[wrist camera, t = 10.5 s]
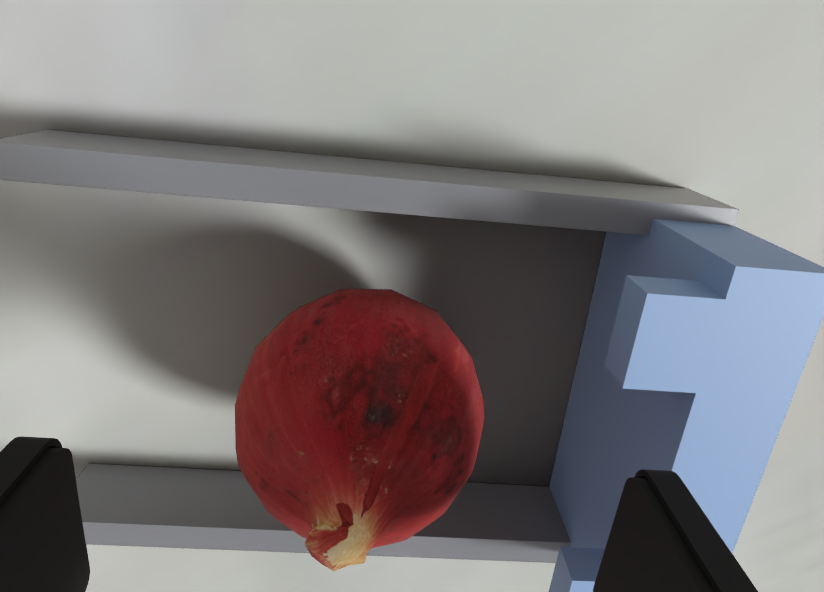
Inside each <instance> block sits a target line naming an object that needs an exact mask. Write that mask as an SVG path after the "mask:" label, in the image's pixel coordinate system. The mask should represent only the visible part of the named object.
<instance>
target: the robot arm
mask: <svg viewBox="0 0 824 592" xmlns="http://www.w3.org/2000/svg"><path fill="white" fill-rule="evenodd" d="M89 575H90V567H89V560H88V554H87V548H86V541H85V535H84V529H83V522H82V516H81V510H80V503H79V497H78V491H77V484H76V478H75V472H74V465H73V459H72V454H71V451H70V450H69V449H67V448H62V446H61V443H60V442H59V440H58V439H54V438H36V437H17V438H14V439H13V440H12V441H11V442H10V443H9V444H8V445H7V446H6V447H5V448H4V449H3V450H2V451H1V452H0V592H85V590H86V588H87V585H88V581H89ZM593 592H758V591H757V590H756V588H755V587H754V585H753V584H752V582H751V581H750V579H749V578H748V576H747V575H746V573H745V572H744V571H743V569H742V568H741V566H740V565H739V563H738V562H737V560H736V559H735V557H734V556H733V554H732V553H731V551H730V550H729V549H728V547H727V546H726V544H725V543H724V541H723V540H722V538H721V537H720V535H719V534H718V532H717V531H716V530H715V528H714V527H713V525H712V524H711V522H710V521H709V519H708V518H707V516H706V515H705V513H704V512H703V510H702V509H701V508H700V506H699V505H698V503H697V502H696V500H695V499H694V497H693V496H692V494H691V493H690V491H689V490H688V488H687V487H686V486H685V484H684V483H683V481H682V480H681V478H680V477H679V476H678V475H677V473H675V472H673V471H665V470H646V469H642V470H639V471H638V472H637V473H636V474H635V477H630V478H628V479H627V480H626V482H625V485H624V488H623V491H622V495H621V498H620V501H619V505H618V508H617V511H616V515H615V518H614V521H613V524H612V528H611V531H610V534H609V538H608V541H607V544H606V547H605V551H604V554H603V557H602V561H601V564H600V567H599V571H598V574H597V577H596V580H595V584H594V588H593Z"/></svg>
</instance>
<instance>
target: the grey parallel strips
mask: <svg viewBox="0 0 824 592" xmlns="http://www.w3.org/2000/svg"><path fill="white" fill-rule="evenodd" d="M0 180H9V181H20V182H32V183H44V184H55V185H67V186H79V187H91V188H102V189H114V190H126V191H137V192H149V193H161V194H173V195H184V196H196V197H208V198H220V199H231V200H243V201H255V202H266V203H278V204H290V205H302V206H313V207H325V208H337V209H349V210H360V211H372V212H384V213H395V214H407V215H419V216H431V217H442V218H454V219H466V220H477V221H489V222H501V223H513V224H524V225H536V226H548V227H560V228H571V229H583V230H595V231H606V232H618V233H630V234H642V235H649V234H650V230H651V226H652V222H653V219H661V220H672V221H684V222H695V223H707V224H718V225H729V226H734V223H735V220H736V217H737V214H738V210H739V209H736V208H734V207H731V206H729V205H727V204H724V203H722V202H719V201H717V200H714V199H712V198H709V197H707V196H705V195H702V194H700V193H697V192H695V191H692V190H690V189H686V188H675V187H665V186H654V185H643V184H632V183H621V182H610V181H599V180H589V179H578V178H567V177H556V176H545V175H534V174H524V173H513V172H502V171H491V170H480V169H469V168H458V167H448V166H437V165H426V164H415V163H404V162H393V161H382V160H372V159H361V158H350V157H339V156H328V155H317V154H306V153H296V152H285V151H274V150H263V149H252V148H241V147H231V146H220V145H209V144H198V143H187V142H176V141H165V140H155V139H144V138H133V137H122V136H111V135H100V134H89V133H79V132H68V131H57V130H41V131H36V132H31V133H26V134H21V135H16V136H10V137H5V138H0ZM76 484H77V491H78V497H79V503H80V510H81V516H82V522H83V529H84V535H85V541H86V544H93V545H118V546H143V547H168V548H193V549H218V550H244V551H269V552H294V553H310V552H309V551H308V549H307V547H306V546H305V541H306V538H303V537H301V536H300V535H298V534H297V533H295V532H294V531H292V530H291V529H289V528H288V527H287V526H285V525H284V524H282V523H281V522H279V521H278V520H277V519H275V518H274V517H273V516H272V515H271V514H270V513H269V512H268V511H267V510H266V509H265V507H264V506H263V504H262V503H261V501H260V500H259V498H258V497H257V495H256V494H255V492H254V491H253V489H252V488H251V486H250V485H249V483H248V482H247V480H246V479H245V477H244V475H243V473H242V471H228V470H208V469H188V468H168V467H148V466H128V465H108V464H88V465H87V466H86V467H85V469H84V470H83V471H82V473H81V474H80V475H79V477H78V478H77V479H76ZM570 546H571V541H570V538H569V536H568V533H567V531H566V528H565V526H564V523H563V520H562V518H561V515H560V513H559V510H558V508H557V505H556V503H555V500H554V498H553V495H552V492H551V490H550V487H547V486H527V485H507V484H487V483H467V482H466V483H465V484H464V486H463V487H462V489H461V490H460V492H459V493H458V495H457V496H456V497H455V499H454V500H453V502H452V503H451V505H450V506H449V508H448V509H447V510H446V512H445V513H444V514H443V515H442V516H440V517H439V518H438V519H436V520H435V521H434V522H432V523H431V524H429V525H428V526H426V527H425V528H423V529H422V530H420V531H419V532H417V533H416V534H414V535H413V536H411V537H410V538H408V539H407V540H404V541H401V542H398V543H393V544H389V545H384V546H380V547H375V548H371V549H370V550H369V551H368V553H367V555H369V556H394V557H419V558H444V559H470V560H495V561H520V562H545V563H556V561H557V557H558V553H559V549H560V547H570Z"/></svg>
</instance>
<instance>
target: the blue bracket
mask: <svg viewBox="0 0 824 592" xmlns="http://www.w3.org/2000/svg"><path fill="white" fill-rule="evenodd" d="M823 317H824V267H822V266H820V265H817V264H815V263H813V262H811V261H809V260H807V259H804V258H802V257H800V256H798V255H796V254H794V253H791V252H789V251H787V250H785V249H783V248H781V247H778V246H776V245H774V244H772V243H770V242H768V241H765V240H763V239H761V238H759V237H757V236H755V235H752V234H750V233H748V232H746V231H744V230H742V229H739V228H737V227H735V226H729V225H718V224H707V223H695V222H684V221H672V220H661V219H653V222H652V226H651V230H650V234H649V235H642V234H630V233H618V232H606V237H605V241H604V246H603V250H602V255H601V259H600V263H599V268H598V272H597V277H596V281H595V286H594V290H593V294H592V299H591V303H590V308H589V312H588V317H587V321H586V326H585V330H584V334H583V339H582V343H581V348H580V352H579V357H578V361H577V366H576V370H575V374H574V379H573V383H572V388H571V392H570V397H569V401H568V405H567V410H566V414H565V419H564V423H563V428H562V432H561V437H560V441H559V445H558V450H557V454H556V459H555V463H554V468H553V472H552V477H551V481H550V485H549V487H550V490H551V492H552V495H553V498H554V500H555V503H556V505H557V508H558V510H559V513H560V515H561V518H562V520H563V523H564V526H565V528H566V531H567V533H568V536H569V538H570V541H571V546H570V547H560V549H559V553H558V557H557V561H556V565H555V569H554V573H553V577H552V581H551V585H550V589H549V592H593V588H594V584H595V580H596V577H597V574H598V571H599V567H600V564H601V561H602V557H603V554H604V551H605V547H606V544H607V541H608V538H609V534H610V531H611V528H612V524H613V521H614V518H615V515H616V511H617V508H618V505H619V501H620V498H621V495H622V491H623V488H624V485H625V482H626V480H627V479H628V478H630V477H635V474H636V473H637V472H638V471H639V470H642V469H646V470H665V471H673V472H675V473H677V475H678V476H679V477H680V478H681V480H682V481H683V483H684V484H685V486H686V487H687V488H688V490H689V491H690V493H691V494H692V496H693V497H694V499H695V500H696V502H697V503H698V505H699V506H700V508H701V509H702V510H703V512H704V513H705V515H706V516H707V518H708V519H709V521H710V522H711V524H712V525H713V527H714V528H715V530H716V531H717V532H718V534H719V535H720V537H721V538H722V540H723V541H724V543H725V544H726V546H727V547H728V549H729V550H730V551H731V553H733V550H734V548H735V545H736V543H737V540H738V537H739V535H740V532H741V530H742V527H743V524H744V522H745V519H746V517H747V514H748V512H749V509H750V506H751V504H752V501H753V499H754V496H755V493H756V491H757V488H758V486H759V483H760V480H761V478H762V475H763V473H764V470H765V467H766V465H767V462H768V460H769V457H770V454H771V452H772V449H773V447H774V444H775V441H776V439H777V436H778V434H779V431H780V428H781V426H782V423H783V421H784V418H785V415H786V413H787V410H788V408H789V405H790V402H791V400H792V397H793V395H794V392H795V389H796V387H797V384H798V382H799V379H800V376H801V374H802V371H803V369H804V366H805V363H806V361H807V358H808V356H809V353H810V350H811V348H812V345H813V343H814V340H815V337H816V335H817V332H818V330H819V327H820V325H821V322H822V319H823Z"/></svg>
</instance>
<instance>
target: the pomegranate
mask: <svg viewBox="0 0 824 592" xmlns="http://www.w3.org/2000/svg"><path fill="white" fill-rule="evenodd" d="M483 424H484V400H483V396H482V393H481V389H480V385H479V382H478V378H477V374H476V370H475V367H474V363H473V360H472V358H471V356H470V355H469V353H468V351H467V350H466V348H465V346H464V345H463V344H462V342H461V341H460V340H459V339H458V337H457V336H456V335H455V334H454V332H453V331H452V330H451V329H450V327H449V326H448V325H447V324H446V322H445V321H444V320H443V319H442V317H441V316H440V315H439V314H438V312H437V311H436V310H434V309H432V308H429V307H427V306H425V305H423V304H421V303H419V302H417V301H414V300H412V299H410V298H408V297H406V296H404V295H402V294H400V293H397V292H395V291H393V290H383V289H340V290H337V291H335V292H333V293H331V294H328V295H326V296H324V297H322V298H319V299H317V300H315V301H312V302H310V303H308V304H306V305H303V306H301V307H299V308H298V309H296V310H295V311H293V312H292V313H290V314H289V315H288V316H287V317H286V318H285V319H284V320H283V321H282V322H281V323H280V324H279V325H278V326H277V327H276V328H275V329H274V330H273V331H272V332H271V333H270V334H269V335H268V336H267V337H266V338H264V339H263V340H262V341H261V342H260V343H259V344H258V345H257V346H256V349H255V351H254V354H253V356H252V359H251V361H250V364H249V366H248V369H247V371H246V374H245V376H244V379H243V381H242V384H241V386H240V390H239V393H238V396H237V400H236V403H235V433H236V454H237V460H238V466H239V467H240V469H241V471H242V473H243V475H244V477H245V479H246V480H247V482H248V483H249V485H250V486H251V488H252V489H253V491H254V492H255V494H256V495H257V497H258V498H259V500H260V501H261V503H262V504H263V506H264V507H265V509H266V510H267V511H268V512H269V513H270V514H271V515H272V516H273V517H274V518H275V519H277V520H278V521H279V522H281V523H282V524H284V525H285V526H287V527H288V528H289V529H291V530H292V531H294V532H295V533H297V534H298V535H300V536H301V537H303V538H306V541H305V546H306V547H307V549H308V551H309V552H310V554H311V556H312V557H314V558H315V559H316V560H317V561H319V562H320V563H321V564H323V565H324V566H326V567H328V568H329V569H331V570H333V571H336V570H338V569H340V568H343V567H345V566H348V565H354V564H361V563H364V562H365V559H366V556H367V553H368V551H369V550H370V549H371V548H375V547H380V546H384V545H389V544H393V543H398V542H401V541H404V540H407V539H408V538H410V537H411V536H413V535H414V534H416V533H417V532H419V531H420V530H422V529H423V528H425V527H426V526H428V525H429V524H431V523H432V522H434V521H435V520H436V519H438V518H439V517H440V516H442V515H443V514H444V513H445V512H446V510H447V509H448V508H449V506H450V505H451V503H452V502H453V500H454V499H455V497H456V496H457V495H458V493H459V492H460V490H461V489H462V487H463V486H464V484H465V483H466V481H467V480H468V478H469V477H470V475H471V474H472V472H473V468H474V465H475V461H476V458H477V453H478V448H479V444H480V439H481V434H482V429H483Z"/></svg>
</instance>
